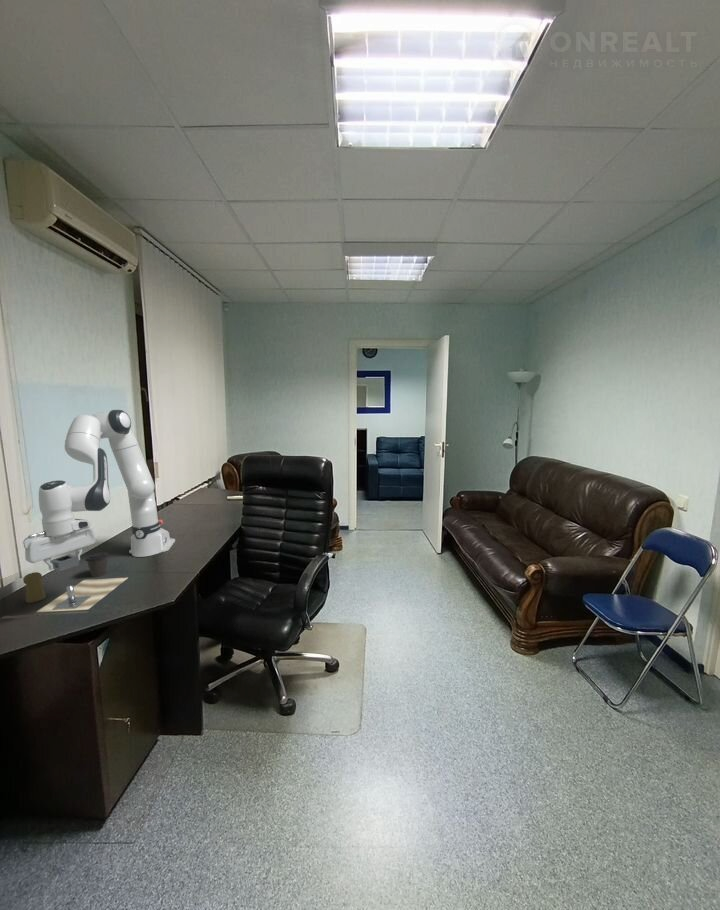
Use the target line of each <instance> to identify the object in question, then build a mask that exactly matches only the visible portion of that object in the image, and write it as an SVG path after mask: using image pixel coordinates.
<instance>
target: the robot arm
mask: <svg viewBox="0 0 720 910" xmlns="http://www.w3.org/2000/svg"><path fill="white" fill-rule="evenodd" d="M131 419H132V418H131V417H130V416H129V414H128V413H127V412H125V411H124V410H122V409H111V410H107V411H101V412H98V413H95V414H92V415H90V414H81V415H77V416H75V418H73V420H72V422H71V424H70V426H69V428H68V430H67V433H66V437H65V440H64V450H65V451H64V452H65V453H67V455H68V456H69V457H71V458H72V459H74V460H76V461H77V462H81V463H86V464H89V465H91V466H92V472H93V473H92V476H93V477H92V480H93V481H92V482H91V483H90V484H89V483H88V484H85V485H84V484H81V485H68V483H67V482H66V481H64V480H51V481H48V482H44V483H42V484H40V486H39V488H38V506H39V511H40V512H41V517H42V518H41V524H42V531H41V532H38V533H35V534H29V535H27V537H26V538H24V540H23V542H22V544H23V548H24V557H25V560H26V562H28V563H30V564H35V563H38V562H41V561H43V563H45V564H46V565H48V569H49V570H50V571H53V570H54V569H56V564H54V563H51V562H50V561H51V560H52V558H53V557H57V556H61V555H63V554H67V553H69V552H73V551H76V552H75V555H74V556H78V558H79V561H81V554H82V552H83V548H85V547H88V546H92V545H94V544H95V543H96V541H97V539H96V533H95V531H94V528H93V527H92V526H91V525H92V521H91V520H88V519H83V518H75V516H74V513H75V512H77V513H78V512H86V511H87V512H88V511H89V512H101V511H102V510H104V509H105V508H106V507H107V506H108V505H109V504H110V502H111V492H110V485H109V466H108V465H109V464H108V456H107V453H106V451H105V450H104V449H103V448H101V447H100V443H101V442H100V441H101V440H102V439H107V440H108V442H109V446H110V449H111V451H112V452H111V453H112V454H113V457H114V459H115V461H116V464H117V466H118V469H119V471H120V474H121V476H122V479H123V482H124V485H125V488H126V489H127V496H128V497H127V498H128V503H129V511H130V519H131V534H132V535H131V536H130V549H129V551H128V552H129V554H131V556H133V557H136V558H143V557H150V556H154V555H157V554H160V553H165V552H167V551H169V550H171V549H170V548H172V546H173V545H174V544H175V542H176V539H175V538H171V537H170V532H169V531H168V530H167V529H164V528H162V526H161V525H162V524H164V521H163V519H158V518H159V517H158V509H157V503H156V498H155V487H156V486H155V482H154V479H153V477H152V475H151V472H150V470H149V467H148V464H147V462H146V459H145V458H144V455H143V452H142V450H141V447H140V444H139V442H138V439H137V437H136V435H135V433H134V432H133V430H132V428H131V427H132V421H131Z"/></svg>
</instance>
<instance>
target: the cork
mask: <svg viewBox="0 0 720 910" xmlns="http://www.w3.org/2000/svg"><path fill="white" fill-rule="evenodd" d="M42 579H43V576H42V573H40V572H38V571H37V572H35V571H34V572H29V573H27V574H26V575H24V576H23V583H24V584H25V602H26V603H29V604H31V603H35V602H39V601H41V600H43V599H45V598H46V597H47V594H46V592H45V589H44V586H43V584H42Z"/></svg>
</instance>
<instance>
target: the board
mask: <svg viewBox="0 0 720 910" xmlns="http://www.w3.org/2000/svg"><path fill="white" fill-rule="evenodd" d="M126 580H128V577H115V578H114V577H113V578H112V577H111V578H97V579H95V578H94V579H93V578H92V579H91V578H90V579H83V580H81V581H80V582H78V583H77V584H76V585H73V587H74V593H75V597H80V596H91V597H90V598H89V599H88V600H87V601H85V602H84V603H83V604H81V605H80V606H79V607H77V608H76V609H60V610H53V608H54V607H56V606H57V605H59V604H60V603H61V602H63V601H64V600H66V599H67V598H68V595H67V591H65V592H64V593H62V594H61V595H59V596H57V598H55V599H53V600H52V601H51V602H49V603H47V604H46V605H44V606H43V607H41V608H39V609H38V610H37V611H36V613H35V616H48V615H49V616H51V615H52V616H53V615H66V614H69V615H71V614H86V613H87V614H88V613H90V612H91V610H89V609H91V608H92V607H94V606H95V605H96V604H97V603H99V601H101V600H102V599H104V598H105V597H106V596H108V595H109V593H111V592H112V591H114V590H115V589H116V588H117V587H119V586H120V585H121V584H122V583H124V582H125V581H126Z"/></svg>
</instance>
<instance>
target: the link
mask: <svg viewBox="0 0 720 910" xmlns="http://www.w3.org/2000/svg"><path fill="white" fill-rule="evenodd" d="M50 562H51V563H54V564H56V569H53V570H55V571H58V572H63V571H65V570H67V569H71V568H74V567H77V566H79V565H80V560H79V558H78V556H75V555H73V554H69V553H68V554H65V555H62V556H60V557H56V558H54V559H51V561H50Z"/></svg>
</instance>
